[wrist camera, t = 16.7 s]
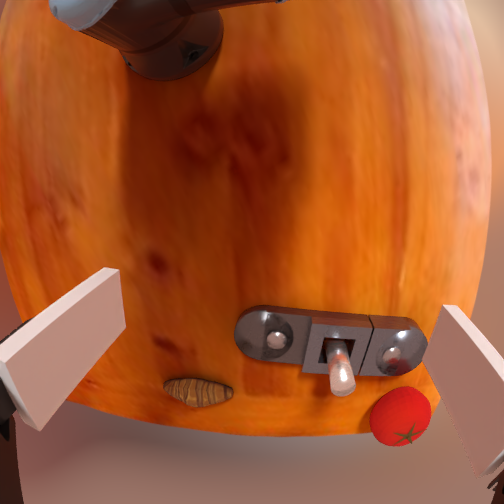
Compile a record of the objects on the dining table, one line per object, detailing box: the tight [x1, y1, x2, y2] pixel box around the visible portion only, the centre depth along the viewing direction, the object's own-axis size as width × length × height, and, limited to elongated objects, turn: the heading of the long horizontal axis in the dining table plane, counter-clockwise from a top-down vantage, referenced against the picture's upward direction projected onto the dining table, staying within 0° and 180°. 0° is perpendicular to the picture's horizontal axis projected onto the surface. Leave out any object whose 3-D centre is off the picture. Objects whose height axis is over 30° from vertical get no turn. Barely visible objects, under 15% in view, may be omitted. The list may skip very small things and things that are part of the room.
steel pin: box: [324, 337, 356, 396], centre depth 40 cm, size 3×3×12 cm
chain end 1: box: [234, 305, 369, 364], centre depth 45 cm, size 20×9×3 cm, turn 86°
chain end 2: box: [302, 315, 428, 376], centre depth 43 cm, size 20×9×5 cm, turn 86°
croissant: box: [163, 378, 233, 407], centre depth 50 cm, size 14×7×5 cm, turn 93°
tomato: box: [369, 387, 431, 446], centre depth 43 cm, size 12×12×10 cm
